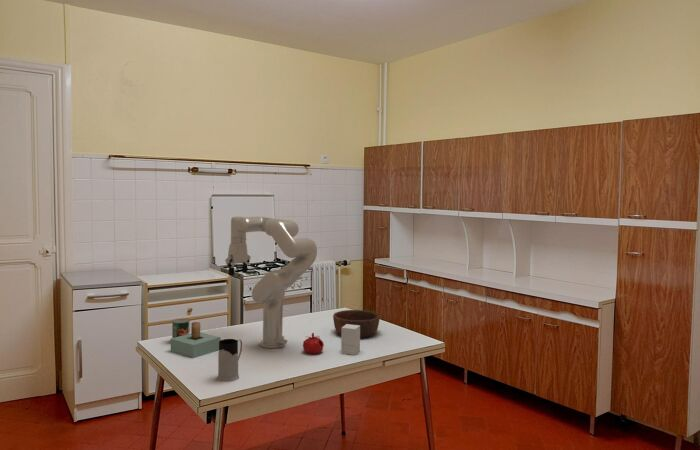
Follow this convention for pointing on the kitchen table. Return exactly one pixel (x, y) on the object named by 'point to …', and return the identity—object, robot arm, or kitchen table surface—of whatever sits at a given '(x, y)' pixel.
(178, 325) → the canned tomato
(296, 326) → the kitchen table surface
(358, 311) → the wooden bowl
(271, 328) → the robot arm
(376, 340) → the kitchen table surface
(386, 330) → the kitchen table surface
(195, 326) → the walnut peg
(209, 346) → the socket block
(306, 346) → the pomegranate
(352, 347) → the supplement box
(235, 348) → the grey pitcher
